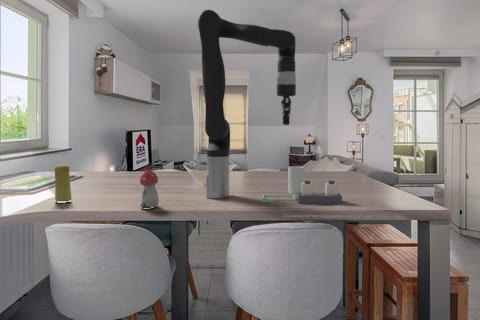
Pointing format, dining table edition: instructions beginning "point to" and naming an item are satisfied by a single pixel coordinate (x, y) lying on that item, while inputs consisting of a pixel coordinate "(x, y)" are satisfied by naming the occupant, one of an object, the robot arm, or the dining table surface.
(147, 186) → the decorative ornament
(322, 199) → the grey rectangular frame
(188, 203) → the dining table surface
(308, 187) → the plug
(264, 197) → the tray
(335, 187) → the twin plug
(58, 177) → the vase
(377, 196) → the dining table surface
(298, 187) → the mug
